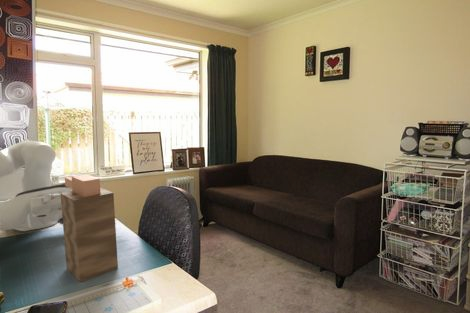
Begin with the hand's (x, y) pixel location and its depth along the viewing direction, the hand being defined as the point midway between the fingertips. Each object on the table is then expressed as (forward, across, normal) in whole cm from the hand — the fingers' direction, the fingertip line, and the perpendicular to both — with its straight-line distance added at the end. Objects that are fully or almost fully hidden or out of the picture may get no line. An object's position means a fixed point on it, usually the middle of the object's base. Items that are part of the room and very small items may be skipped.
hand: (65, 193), depth 115 cm
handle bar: (+15, 0, -4) cm, 16 cm away
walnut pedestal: (+7, 0, -29) cm, 30 cm away
